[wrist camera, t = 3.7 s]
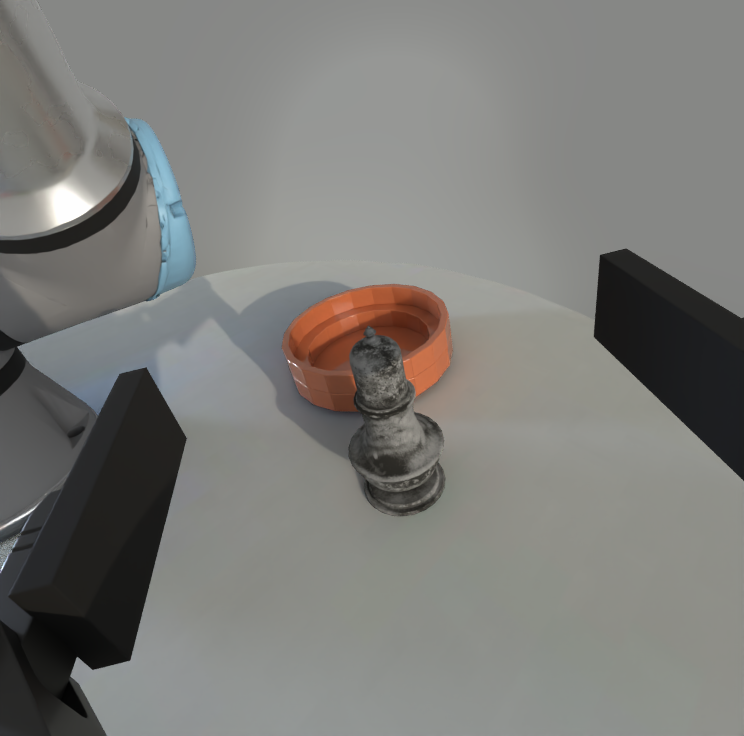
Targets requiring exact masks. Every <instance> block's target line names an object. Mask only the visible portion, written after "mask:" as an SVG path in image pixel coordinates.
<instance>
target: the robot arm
mask: <svg viewBox="0 0 744 736" xmlns="http://www.w3.org/2000/svg"><path fill="white" fill-rule="evenodd" d="M195 266H196V254H195V246H194V241H193V236H192V232H191V228H190V224H189V221H188V217H187V214H186V212H185V210H184V208H183V207H182V200H181V196H180V192H179V188H178V185H177V182H176V180H175V177H174V174H173V172H172V169H171V167H170V164H169V162H168V159H167V157H166V155H165V152H164V150H163V148H162V146H161V144H160V142H159V141H158V138H157V137H156V135H155V133H154V131H153V130H152V128H151V127H150V126H149V125H148V124H147V123H146V122H144V121H143V120H141V119H129V118H125V117H123V115H122V113H121V112H120V111H119V110H118V108H117V107H116V106H115V105H114V104H113V103H112V102H111V101H110V100H109V99H108V98H107V97H106V96H104V95H103V94H102V93H100V92H99V91H97V90H96V89H94V88H92V87H90V86H88V85H86V84H84V83H81V82H79V81H77V80H76V78H75V76H74V74H73V72H72V70H71V68H70V66H69V64H68V62H67V60H66V58H65V56H64V54H63V52H62V50H61V48H60V46H59V44H58V42H57V40H56V38H55V36H54V34H53V32H52V30H51V28H50V26H49V23H48V21H47V20H46V18H45V15H44V13H43V12H42V9H41V7H40V5H39V3H38V1H37V0H0V543H1V542H3V541H5V540H7V539H9V538H11V537H13V536H15V535H17V534H18V533H20V532H21V536H18V538H17V540H16V542H15V543H14V545H13V547H12V549H11V550H12V553H9V554H8V556H7V558H6V560H5V562H4V564H3V565H2V567H1V569H0V736H107V735H106V733H105V731H104V730H103V728H102V726H101V724H100V722H99V720H98V719H97V717H96V715H95V713H94V711H93V709H92V707H91V706H90V704H89V702H88V700H87V698H86V696H85V695H84V693H83V691H82V689H81V687H80V685H79V684H78V683H77V682H76V681H75V680H74V679H73V678H71V677H70V675H71V672H72V669H73V666H74V663H75V660H76V658H77V657H78V658H80V659H81V660H82V661H83V662H84V663H85V664H87V665H88V666H89V667H90V668H91V669H92V670H94V669H98V668H102V667H106V666H110V665H114V664H118V663H122V662H126V661H130V659H131V655H132V651H133V647H134V644H135V640H136V636H137V632H138V628H139V624H140V620H141V616H142V612H143V608H144V604H145V600H146V596H147V592H148V588H149V584H150V581H151V577H152V573H153V569H154V565H155V561H156V557H157V553H158V549H159V545H160V541H161V537H162V533H163V529H164V525H165V522H166V518H167V514H168V510H169V506H170V502H171V498H172V494H173V490H174V486H175V482H176V478H177V474H178V470H179V466H180V462H181V459H182V455H183V451H184V447H185V443H186V439H187V438H186V436H185V434H184V433H183V431H182V429H181V427H180V426H179V424H178V422H177V420H176V419H175V417H174V415H173V413H172V412H171V410H170V408H169V406H168V405H167V403H166V401H165V399H164V398H163V396H162V394H161V392H160V391H159V389H158V387H157V385H156V384H155V382H154V380H153V378H152V377H151V375H150V373H149V371H148V370H147V368H142V369H138V370H134V371H130V372H126V373H122V374H119V376H118V378H117V380H116V382H115V384H114V386H113V388H112V390H111V392H110V394H109V396H108V398H107V400H106V402H105V404H104V406H103V408H102V410H101V412H100V414H99V416H97V414H96V413H95V412H94V410H93V409H92V408H91V407H89V406H88V405H87V404H86V403H85V402H83V401H82V400H80V399H79V398H78V397H76V396H75V395H73V394H72V393H70V392H69V391H67V390H66V389H64V388H63V387H62V386H60V385H59V384H57V383H56V382H54V381H53V380H51V379H50V378H48V377H47V376H46V375H44V374H43V373H41V372H40V371H38V370H37V369H35V368H34V367H33V366H32V365H31V364H29V362H28V361H27V360H26V358H25V357H24V356H23V354H22V353H21V352H20V350H19V349H18V348H17V346H20V345H23V344H25V343H28V342H31V341H33V340H36V339H39V338H42V337H44V336H47V335H50V334H53V333H55V332H58V331H61V330H63V329H66V328H69V327H72V326H74V325H77V324H80V323H83V322H86V321H89V320H92V319H94V318H97V317H100V316H103V315H106V314H109V313H112V312H115V311H118V310H120V309H123V308H126V307H129V306H132V305H135V304H138V303H141V302H143V301H151V300H154V299H156V298H157V297H158V296H160V294H162V293H164V292H166V291H169V290H171V289H174V288H176V287H178V286H181V285H183V284H185V283H186V282H187V281H188V280H189V279H190V278H191V277H192V275H193V273H194V270H195ZM594 338H595V339H597V340H598V341H599V342H600V343H601V344H602V345H603V346H604V347H605V348H606V349H607V350H608V351H609V352H610V353H611V354H612V355H613V356H614V357H615V358H616V359H617V360H618V361H619V362H620V363H622V364H623V365H624V366H625V367H626V368H627V369H628V370H629V371H630V372H631V373H632V374H633V375H634V376H635V377H636V378H637V379H638V380H639V381H640V382H641V383H642V384H643V385H644V386H646V387H647V388H648V389H649V390H650V391H651V392H652V393H653V394H654V395H655V396H656V397H657V398H658V399H659V400H660V401H661V402H662V403H663V404H664V405H665V406H666V407H667V408H668V409H670V410H671V411H672V412H673V413H674V414H675V415H676V416H677V417H678V418H679V419H680V420H681V421H682V422H683V423H684V424H685V425H686V426H687V427H688V428H689V429H690V430H691V431H692V432H693V433H695V434H696V435H697V436H698V437H699V438H700V439H701V440H702V441H703V442H704V443H705V444H706V445H707V446H708V447H709V448H710V449H711V450H712V451H713V452H714V453H715V454H716V455H717V456H719V457H720V458H721V459H722V460H723V461H724V462H725V463H726V464H727V465H728V466H729V467H730V468H731V469H732V470H733V471H734V472H735V473H736V474H737V475H738V476H739V477H740V478H741V479H743V480H744V318H740V317H738V316H737V315H735V314H733V313H732V312H730V311H729V310H727V309H725V308H724V307H722V306H720V305H719V304H717V303H715V302H713V301H712V300H710V299H709V298H707V297H705V296H704V295H702V294H700V293H699V292H697V291H696V290H694V289H692V288H690V287H689V286H687V285H686V284H684V283H682V282H681V281H679V280H677V279H676V278H674V277H672V276H671V275H669V274H667V273H666V272H664V271H662V270H661V269H659V268H658V267H656V266H654V265H653V264H651V263H649V262H648V261H646V260H644V259H643V258H641V257H639V256H638V255H636V254H635V253H633V252H631V251H630V250H628V249H623V250H618V251H615V252H610V253H607V254H602V255H600V263H599V276H598V289H597V302H596V314H595V327H594Z"/></svg>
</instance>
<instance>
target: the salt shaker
mask: <svg viewBox="0 0 744 736" xmlns="http://www.w3.org/2000/svg"><path fill="white" fill-rule="evenodd" d="M375 334H376V330H374V329H373V328H372V327H370V326H367V328H366V329H365V331H364V333H363V335H364V336H366V337H364V338H363V339H361V340H359V341H358V342H357V343H355V345H354V346H353V347H352V349H351V351H350V354H349V359H350V366H351V369H352V373H353V377H354V380H355V384H356V388H357V391H356V393H355V395H354V398H353V399H354V406H355V408H356V409H357V410H358V411H359V412H360V413H361V414H362V415H363V419H364V422H365V424H364V425H362V426H361V427H360V428H359V429H358V430H357V431H356V433H355V434H354V436H353V437H352V439H351V442H350V445H349V458H350V461H351V463H352V466H353V467H354V468H355V469H356V470H357V471H358V472H359V473H360V474H361V475H362V476H363V477H364V478H365V483H364V486H365V494H366V496H367V499H368V501H369V502H370V503H371V504H372V505H373V507H374V508H376V509H378V510H379V511H381V512H382V513H386V514H389V515H393V516H407V515H413V514H416V513H419V512H421V511H424V510H426V509H427V508H429V507H430V506H431V505H433V504H434V503H435V502H436V501H437V500H438V498H439V497H440V496H441V494H442V492H443V489H444V485H445V476H444V471H443V469H442V467H441V466H440V464H439V463H438V461H439V457H440V455H441V453H442V451H443V445H444V438H443V434H442V430H441V429H440V427H439V426H438V424H437V423H436V422H434V421H433V420H432V419H431V418H429V417H427V416H425V415H422V414H420V413H416V412H414V410H413V404H412V403H413V401H414V400H415V396H416V391H415V387H414V385H413V384H412V383H411V382H410V381H409V380H407V379H406V375H405V370H404V365H403V360H402V355H401V350H400V347H399V345H398V344H397V342H396V341H394V340H393V339H391V338H390V337H387V336H384V335H375Z"/></svg>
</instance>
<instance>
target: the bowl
mask: <svg viewBox="0 0 744 736" xmlns="http://www.w3.org/2000/svg"><path fill="white" fill-rule="evenodd" d="M367 326H370V327H372V328H373V329H374V330H376V334H375V335H384V336H387V337H390V338H391V339H393V340H394V341H396V342H397V344H398V345H399V347H400V350H401V355H402V360H403V365H404V370H405V375H406V379H407V380H409V381H410V382H411V383H412V384H413V385H414V387H415V391H416V396H418V395H419V394H421V393H422V392H424V391H425V390H426V389H428V388H429V387H431V386H432V385H433V384H435V383H436V382H437V381H438V380H439V379H440V377H441V376H442V375H443V373H444V372H445V371H446V369H447V368H448V367H449V365H450V361H451V356H452V351H453V347H452V339H451V330H450V322H449V314H448V311H447V309H446V306H445V304H444V302H443V301H442V300H441V299H440V298H439V297H437V296H436V295H435V294H433V293H432V292H430V291H427V290H424V289H422V288H419V287H416V286H409V285H400V284H385V285H372V286H366V287H361V288H356V289H351V290H347V291H345V292H342V293H339V294H336V295H333V296H330V297H328V298H326V299H324V300H322V301H320V302H318V303H316V304H314V305H313V306H311V307H309V308H308V309H306V310H305V311H304V312H303V313H301V314H300V315H299V316H298V317H297V318H295V319H294V320H293V321H292V323H291V324H290V326H289V327H288V329H287V330H286V332H285V333H284V337H283V343H282V350H283V353H284V356H285V358H286V361H287V364H288V367H289V369H290V372H291V375H292V378H293V380H294V383H295V385H296V387H297V389H298V391H299V394H300V395H302V396H303V397H304V398H306V399H307V400H308V401H310V402H311V403H312V404H314V405H316V406H319V407H323V408H326V409H330V410H333V411H345V412H359V411H358V410H357V409H356V408H355V406H354V399H353V398H354V395H355V393H356V391H357V388H356V384H355V380H354V377H353V373H352V369H351V366H350V359H349V354H350V351H351V349H352V347H353V346H354V345H355V343H357V342H358V341H359V340H361V339H363V338H364V337H366V336H364V335H363V333H364V331H365V329H366V328H367ZM416 396H415V397H416Z"/></svg>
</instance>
